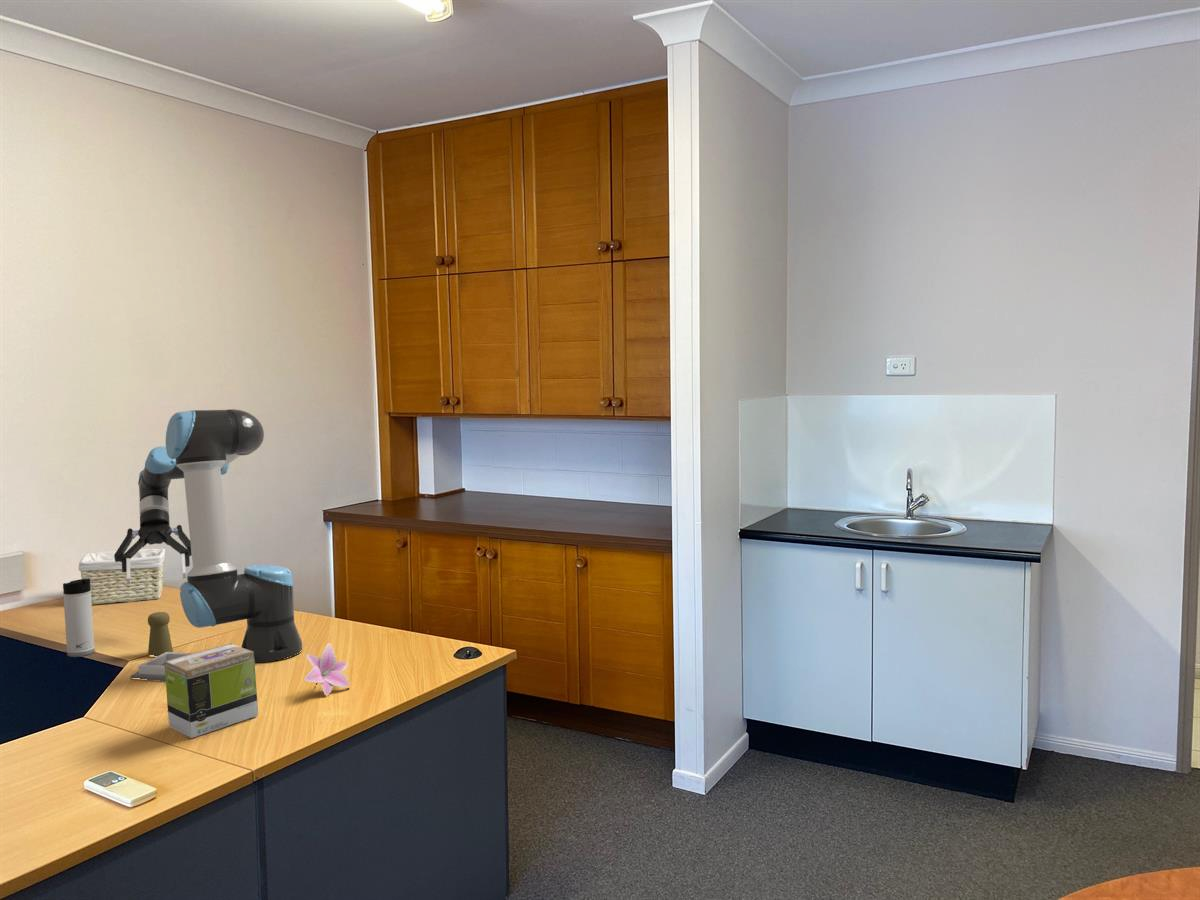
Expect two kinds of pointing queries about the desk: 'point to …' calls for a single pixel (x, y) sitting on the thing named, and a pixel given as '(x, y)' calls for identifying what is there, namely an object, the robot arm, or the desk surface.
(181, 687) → the tea box
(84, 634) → the travel mug
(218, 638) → the desk surface
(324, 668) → the lily
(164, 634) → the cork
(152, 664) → the grey square tray
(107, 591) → the storage basket
